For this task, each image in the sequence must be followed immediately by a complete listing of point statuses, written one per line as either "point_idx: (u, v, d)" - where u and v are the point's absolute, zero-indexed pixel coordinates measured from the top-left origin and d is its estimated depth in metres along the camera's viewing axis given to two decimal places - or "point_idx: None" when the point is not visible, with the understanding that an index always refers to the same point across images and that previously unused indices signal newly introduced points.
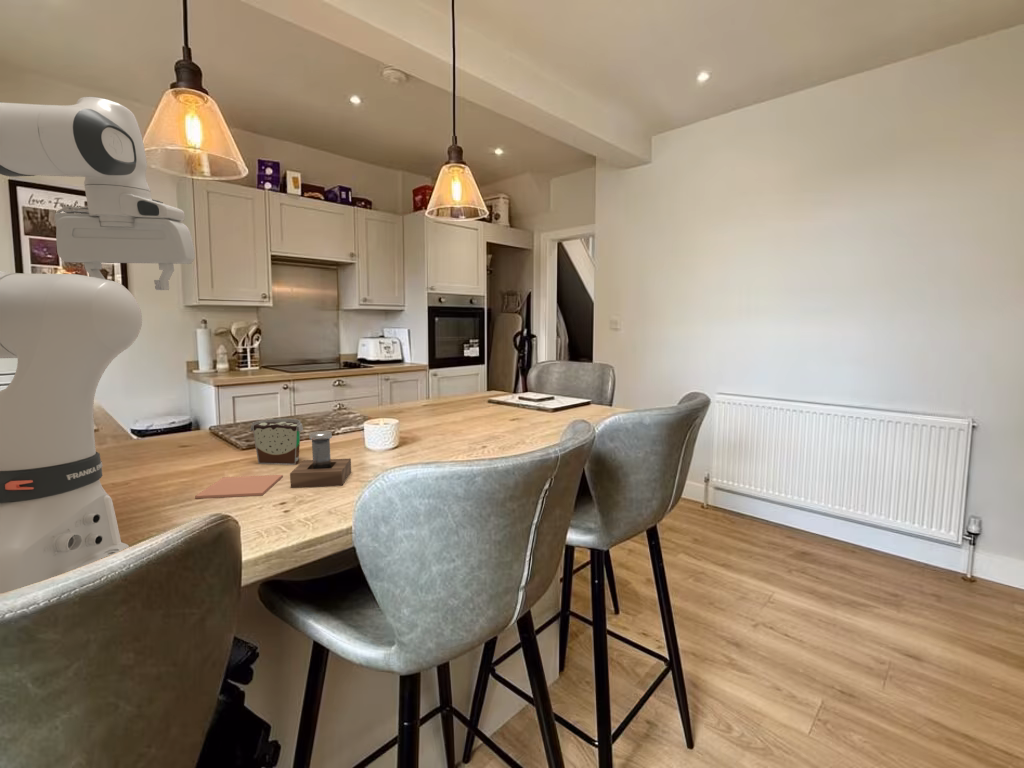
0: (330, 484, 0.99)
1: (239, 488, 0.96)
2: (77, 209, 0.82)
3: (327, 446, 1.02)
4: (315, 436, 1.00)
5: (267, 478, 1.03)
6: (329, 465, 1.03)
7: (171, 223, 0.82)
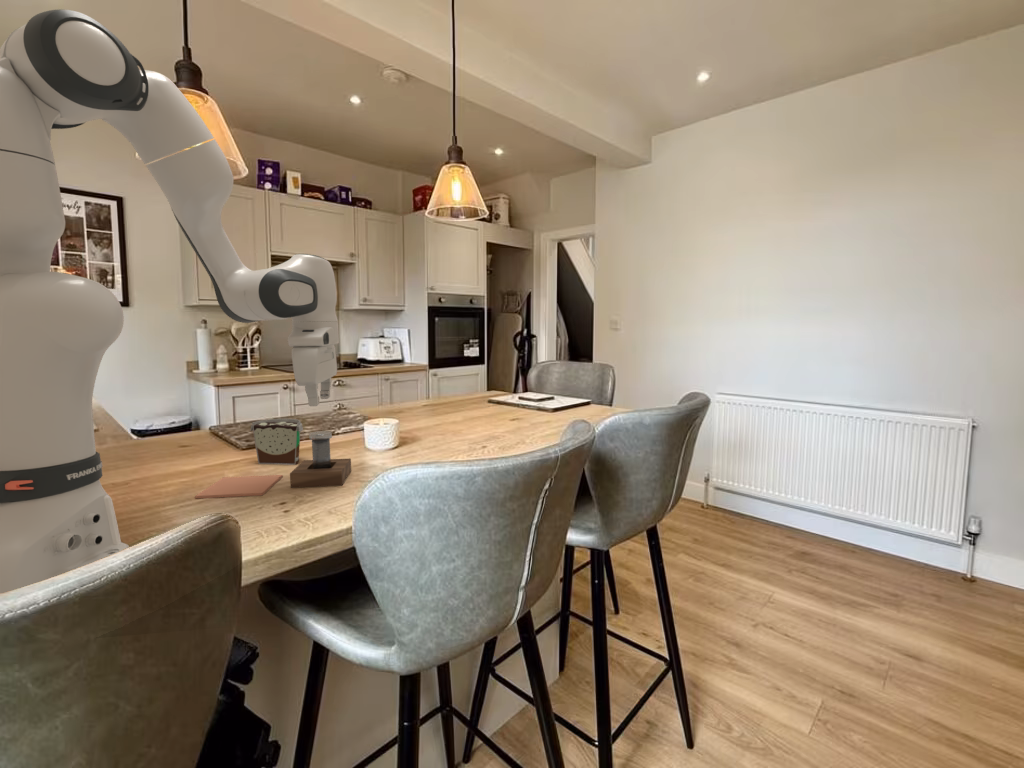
0: (330, 484, 0.99)
1: (239, 488, 0.96)
2: None
3: (327, 446, 1.02)
4: (315, 436, 1.00)
5: (267, 478, 1.03)
6: (329, 465, 1.03)
7: None
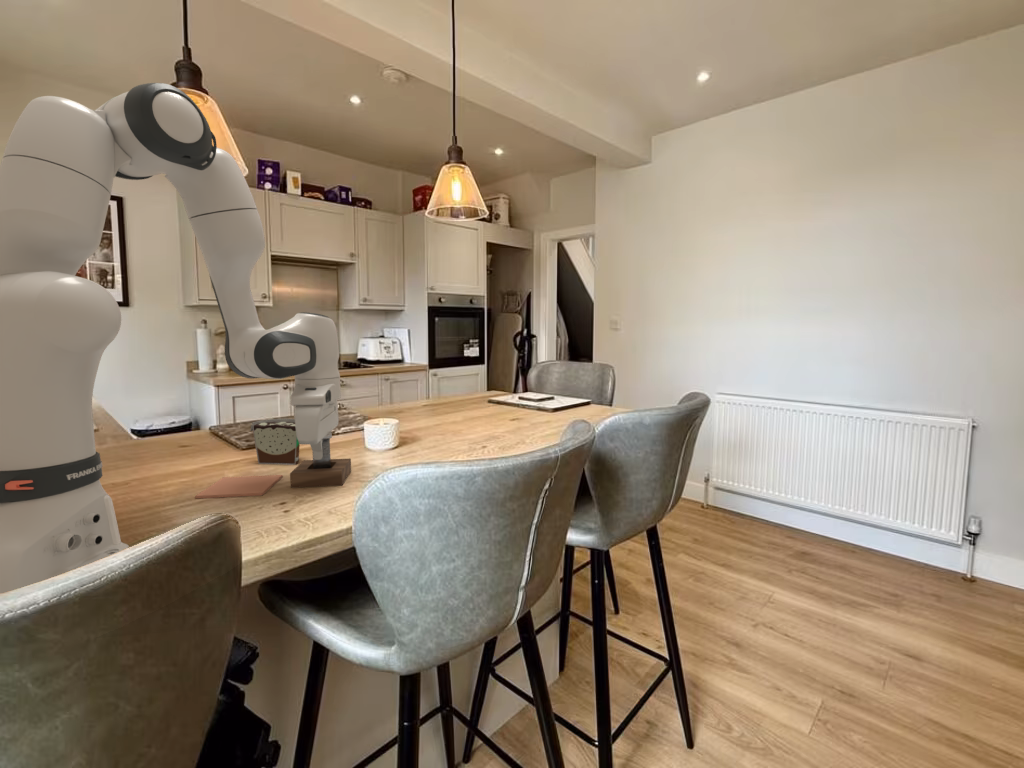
0: (330, 484, 0.99)
1: (239, 488, 0.96)
2: None
3: (327, 446, 1.02)
4: None
5: (267, 478, 1.03)
6: (329, 465, 1.03)
7: (294, 410, 0.93)
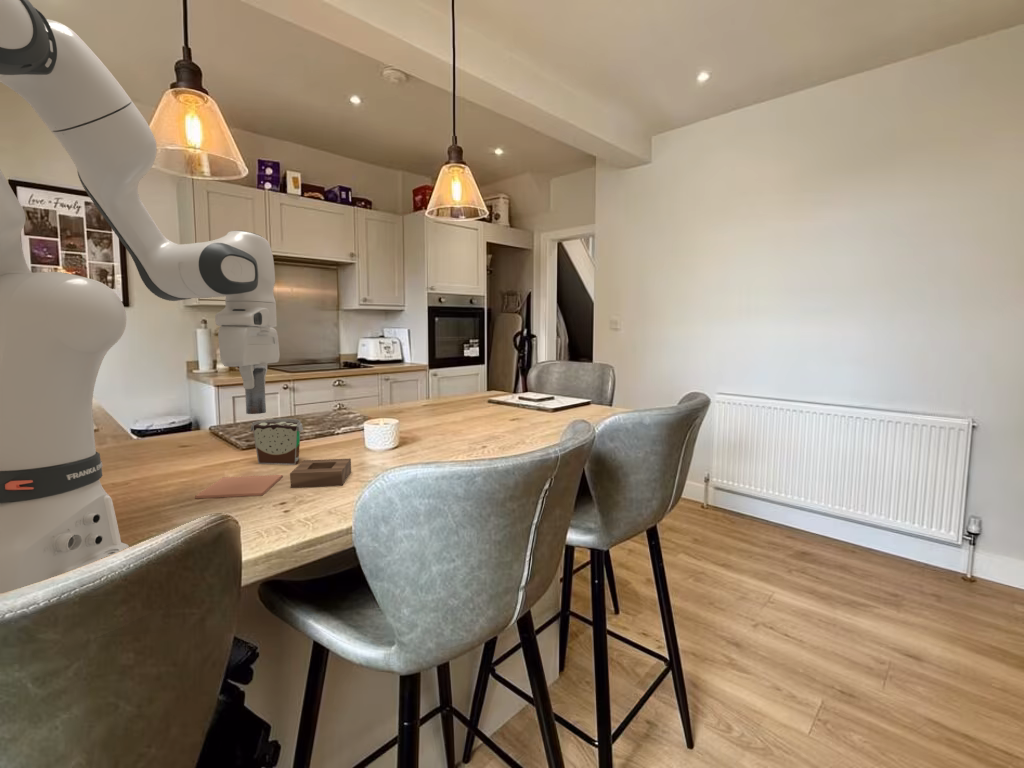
0: (330, 484, 0.99)
1: (239, 488, 0.96)
2: None
3: (260, 376, 0.96)
4: None
5: (267, 478, 1.03)
6: (263, 397, 0.97)
7: None
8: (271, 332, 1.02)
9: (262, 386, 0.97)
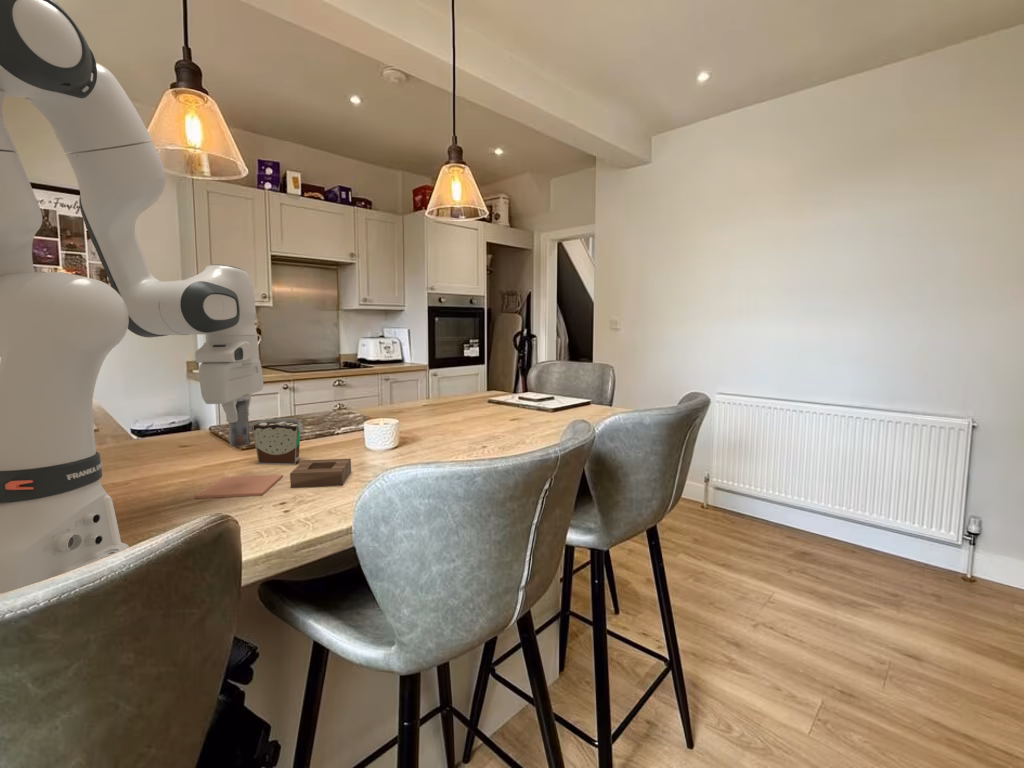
0: (330, 484, 0.99)
1: (239, 488, 0.96)
2: None
3: (243, 408, 0.96)
4: None
5: (267, 478, 1.03)
6: (246, 429, 0.97)
7: (199, 367, 0.87)
8: (254, 362, 1.01)
9: (245, 418, 0.97)
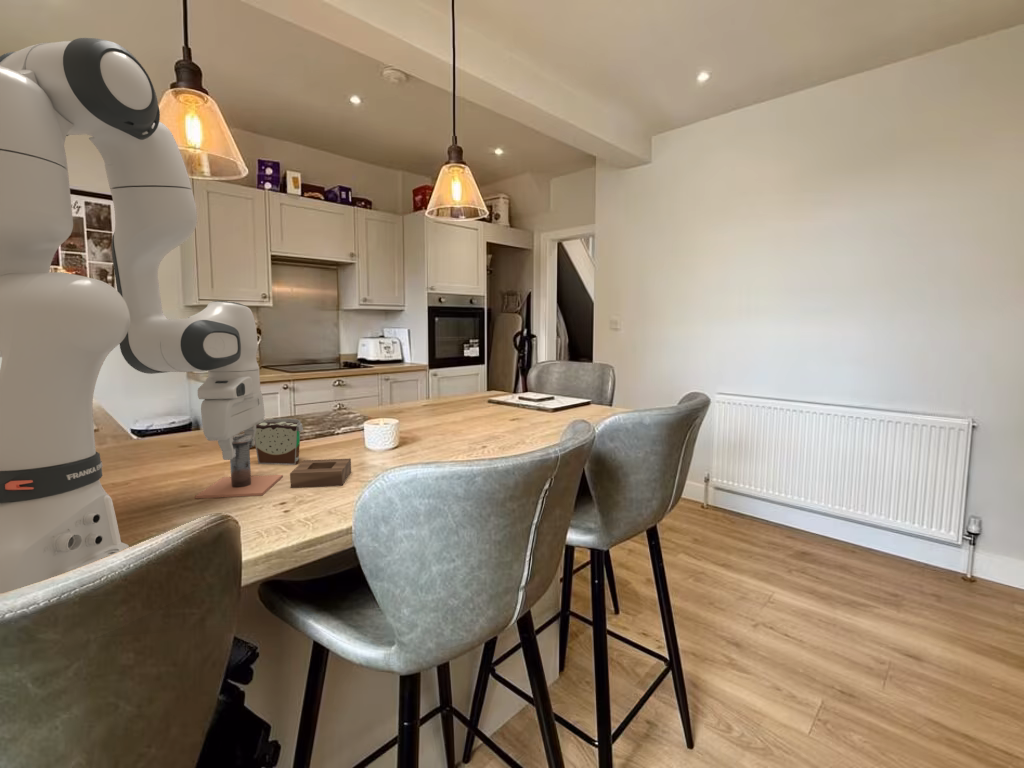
0: (330, 484, 0.99)
1: (239, 488, 0.96)
2: None
3: (245, 449, 0.97)
4: None
5: (267, 478, 1.03)
6: (248, 470, 0.98)
7: (201, 404, 0.88)
8: (255, 395, 1.02)
9: (247, 459, 0.98)
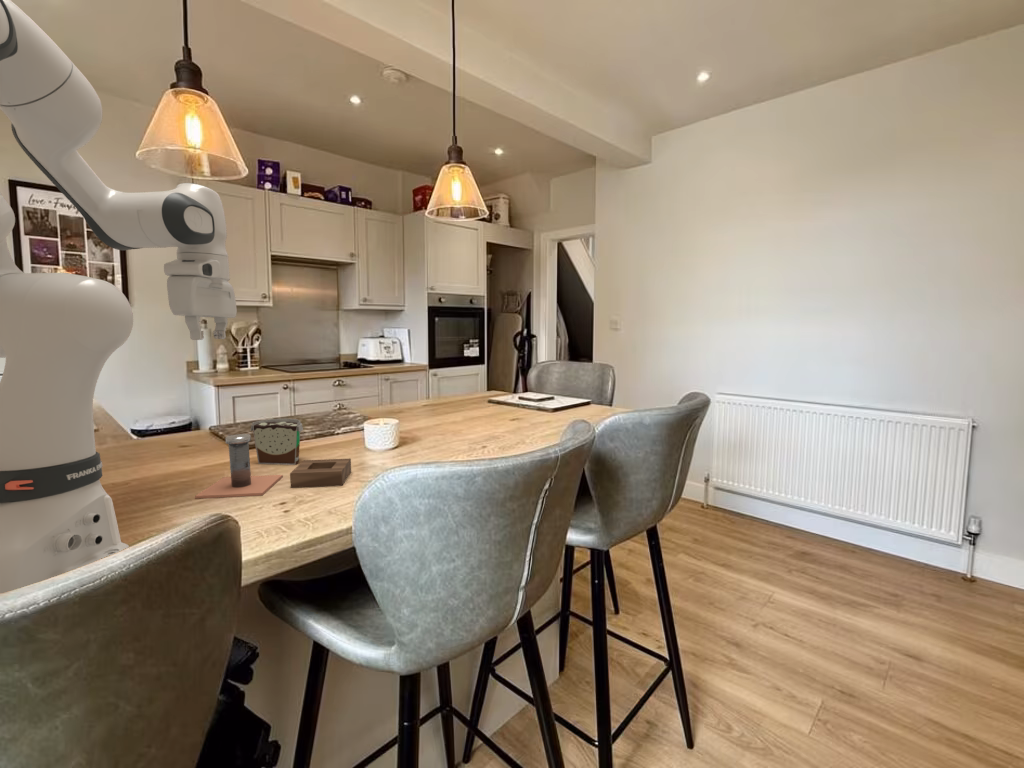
0: (330, 484, 0.99)
1: (239, 488, 0.96)
2: None
3: (245, 450, 0.97)
4: (231, 440, 0.95)
5: (267, 478, 1.03)
6: (248, 470, 0.98)
7: (167, 279, 0.90)
8: (226, 287, 1.04)
9: (247, 459, 0.98)
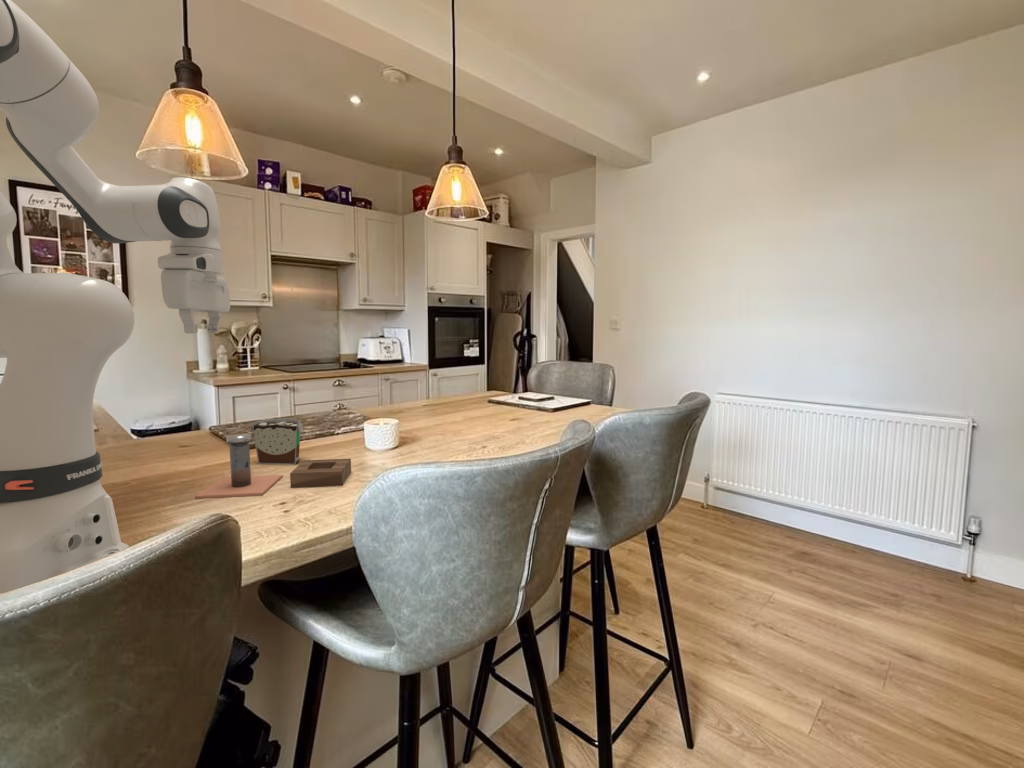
0: (330, 484, 0.99)
1: (239, 488, 0.96)
2: None
3: (245, 449, 0.97)
4: (232, 438, 0.96)
5: (267, 478, 1.03)
6: (248, 469, 0.98)
7: None
8: (219, 281, 1.04)
9: (247, 458, 0.98)
